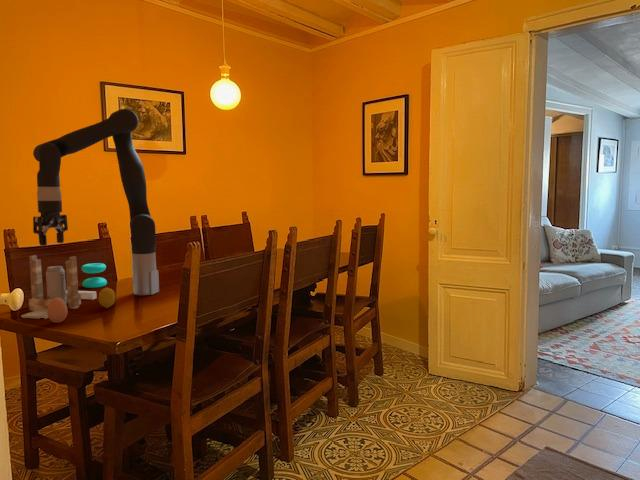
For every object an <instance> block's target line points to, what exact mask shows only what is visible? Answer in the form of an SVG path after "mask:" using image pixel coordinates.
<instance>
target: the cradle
mask: <svg viewBox="0 0 640 480" xmlns="http://www.w3.org/2000/svg"><path fill="white" fill-rule="evenodd" d="M28 258H29V269H30V271H29V272H30V273H29V274H30V275H29V276H30V288H31V298H29V299H28V311H30V312H32V311H35V310H38V309H47V308H48V305H49V303H50V301H51V300H48V299H46V298H45V299H44V290H43V289H44V288H43V275H42V272H43V271H42V259H39V258H38V256H37V255H36V254H35V255H29V256H28ZM68 259H69V260H66V261H65V278H66V290H67V293H66V301H67V304H66V305H67V309H71V310H72V309H75V310H76V309H78V308H79V307H80V305H82V299H81V294H80V293H78V291H79V280H78V265H77V264H78V261H77V256H75V255H73V256H70V257H69V258H68Z"/></svg>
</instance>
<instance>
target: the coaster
mask: <svg viewBox="0 0 640 480" xmlns="http://www.w3.org/2000/svg"><path fill="white" fill-rule="evenodd" d="M20 317H22V319H40V318H44V319H43V320H46V319H49V317H48V315H47V309H38V310H35V311H30V312H27V313H24V314H21V315H20Z"/></svg>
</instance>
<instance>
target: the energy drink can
mask: <svg viewBox="0 0 640 480" xmlns="http://www.w3.org/2000/svg"><path fill="white" fill-rule="evenodd" d="M45 278H46V279H45V281H46V294H47V295H46V296H47V299H46V300H53V299H54V298H61V299H62V300H63V301H64V302H65V303H66V305H68V304H67V301H66V290H67V283H66V270H65V269H64V267H63V266H62V265H54V266H52V265H51V266H48V267H47V269H46V271H45Z"/></svg>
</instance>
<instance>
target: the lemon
mask: <svg viewBox="0 0 640 480" xmlns="http://www.w3.org/2000/svg"><path fill="white" fill-rule="evenodd" d="M98 302H99V304H100V306H102V307H103V308H105V309H109V308H110V307H112V306H113V305H114V304H115V302H116V293H115V291H114V290H113V289H112V288H109V287H108V286H104V288H102V289H101V290H100V291H99V293H98Z"/></svg>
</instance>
